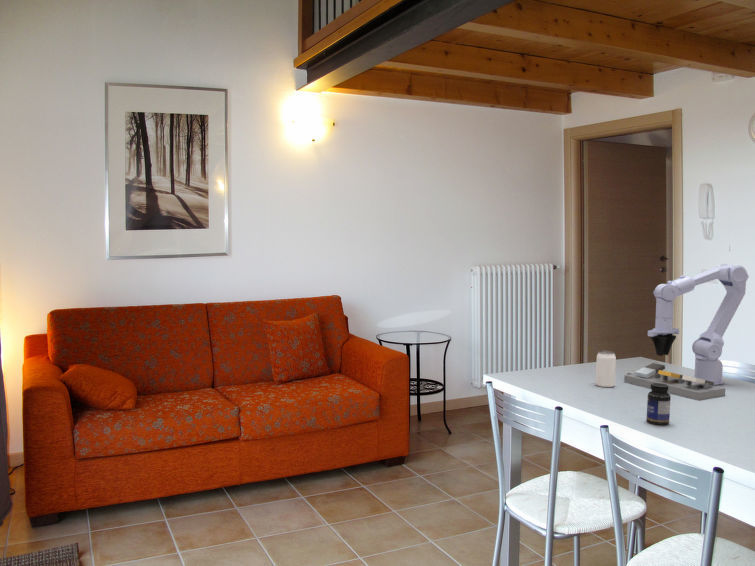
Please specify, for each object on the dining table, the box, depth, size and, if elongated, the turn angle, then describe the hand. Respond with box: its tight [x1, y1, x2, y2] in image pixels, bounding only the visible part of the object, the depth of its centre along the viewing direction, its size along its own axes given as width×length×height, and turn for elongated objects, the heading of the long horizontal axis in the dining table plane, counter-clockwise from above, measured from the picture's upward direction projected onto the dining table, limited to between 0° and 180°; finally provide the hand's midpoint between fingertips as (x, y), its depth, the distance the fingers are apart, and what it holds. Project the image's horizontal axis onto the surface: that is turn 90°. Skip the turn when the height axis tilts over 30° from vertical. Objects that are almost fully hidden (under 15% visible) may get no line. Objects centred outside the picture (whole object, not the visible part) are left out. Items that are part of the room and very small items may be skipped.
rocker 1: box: [634, 362, 666, 378], centre depth 248 cm, size 10×5×1 cm, turn 119°
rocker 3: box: [682, 374, 715, 386], centre depth 232 cm, size 10×5×1 cm, turn 121°
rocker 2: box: [658, 370, 684, 378], centre depth 240 cm, size 10×5×1 cm, turn 121°
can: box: [595, 350, 617, 389], centre depth 243 cm, size 6×6×12 cm
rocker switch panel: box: [623, 372, 726, 401], centre depth 242 cm, size 14×35×4 cm, turn 30°
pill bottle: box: [646, 383, 672, 426], centre depth 197 cm, size 6×6×11 cm
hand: (662, 355), depth 247 cm, fingers closed
